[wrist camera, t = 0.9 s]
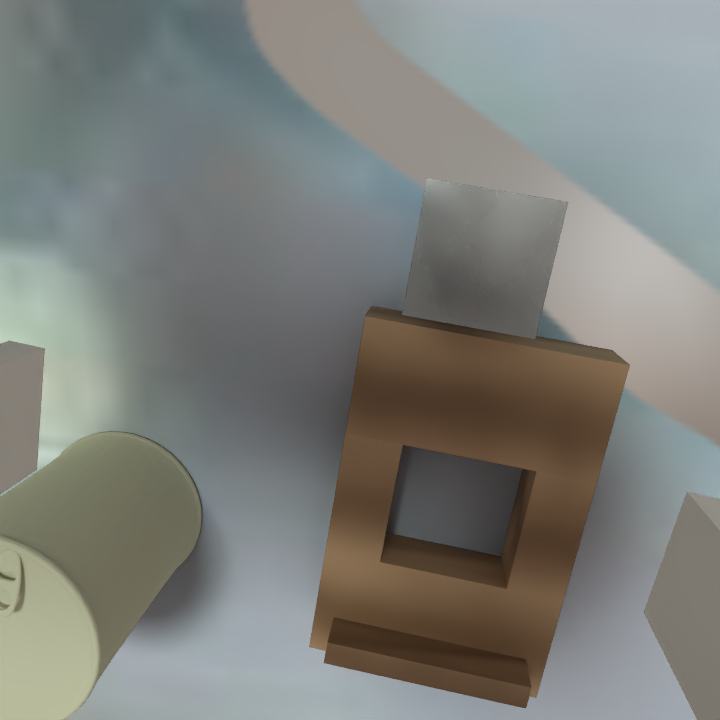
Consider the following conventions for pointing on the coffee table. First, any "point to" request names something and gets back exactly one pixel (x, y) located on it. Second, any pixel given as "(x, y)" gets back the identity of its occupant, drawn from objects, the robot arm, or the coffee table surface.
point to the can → (85, 565)
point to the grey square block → (483, 258)
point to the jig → (450, 564)
